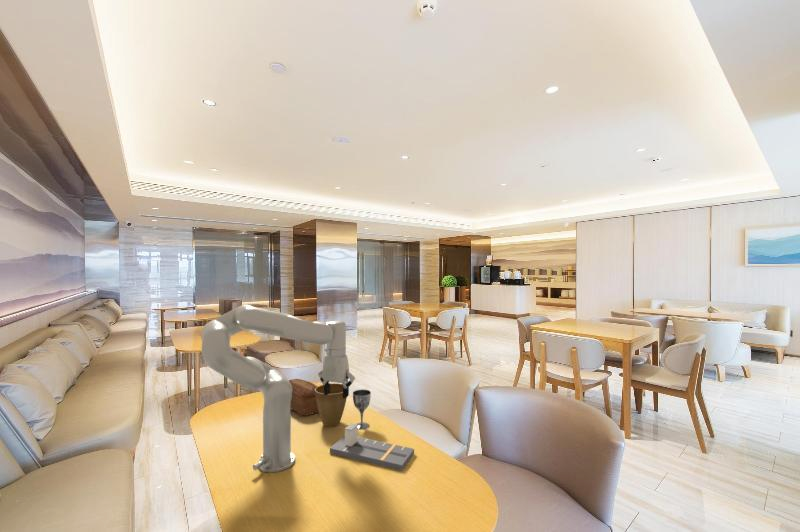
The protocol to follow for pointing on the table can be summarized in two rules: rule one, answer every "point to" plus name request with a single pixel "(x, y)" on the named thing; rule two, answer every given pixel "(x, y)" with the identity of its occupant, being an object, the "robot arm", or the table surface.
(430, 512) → the table surface
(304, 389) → the bread
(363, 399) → the wine glass
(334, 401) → the plant pot
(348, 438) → the fader tab
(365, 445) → the console
